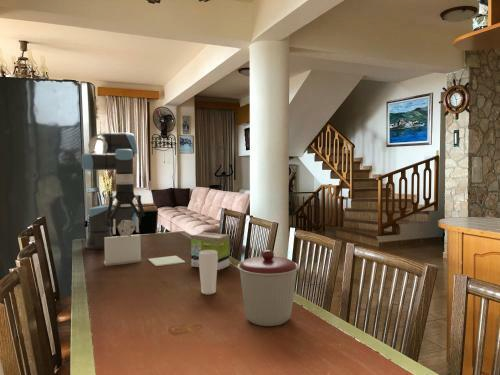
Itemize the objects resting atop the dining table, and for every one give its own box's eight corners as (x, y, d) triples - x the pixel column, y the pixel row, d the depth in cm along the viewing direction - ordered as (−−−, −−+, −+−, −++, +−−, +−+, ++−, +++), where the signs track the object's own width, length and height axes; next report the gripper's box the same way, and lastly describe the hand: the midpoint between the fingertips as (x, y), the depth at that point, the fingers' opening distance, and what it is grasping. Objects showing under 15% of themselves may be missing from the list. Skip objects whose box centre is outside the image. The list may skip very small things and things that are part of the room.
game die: (130, 243, 180) (143, 225, 182) (123, 240, 172) (137, 221, 174) (115, 233, 182) (129, 215, 184) (107, 229, 174) (121, 211, 176)
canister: (262, 304, 131) (262, 241, 129) (310, 318, 119) (310, 249, 118) (225, 321, 117) (224, 251, 115) (275, 338, 105) (274, 260, 104)
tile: (148, 260, 192) (148, 258, 192) (175, 256, 199) (175, 255, 199) (155, 266, 180) (155, 265, 180) (185, 262, 187) (185, 261, 187)
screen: (103, 263, 187) (103, 236, 186) (138, 259, 194) (137, 233, 193) (105, 266, 181) (105, 238, 180) (140, 261, 189) (140, 235, 188)
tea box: (190, 267, 179) (190, 234, 178) (203, 262, 188) (202, 231, 187) (218, 271, 172) (218, 237, 171) (230, 265, 181) (230, 234, 180)
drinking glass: (220, 290, 145) (220, 250, 144) (213, 296, 139) (212, 254, 138) (204, 288, 147) (203, 249, 147) (195, 294, 141) (195, 253, 140)
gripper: (99, 184, 168) (101, 236, 170) (151, 183, 179) (152, 232, 180) (97, 183, 175) (98, 233, 176) (147, 182, 185) (148, 229, 187)
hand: (125, 232), depth 178 cm, fingers closed on game die, 9 cm apart
